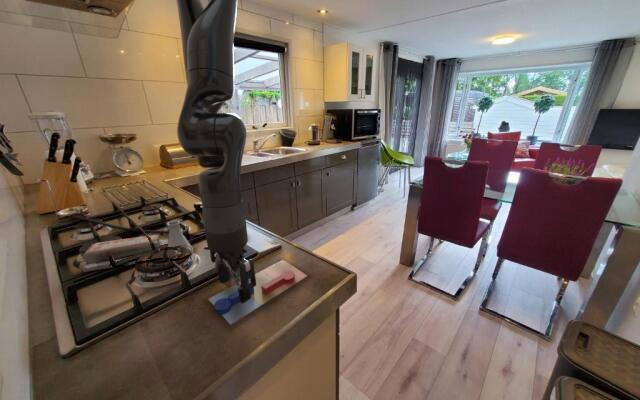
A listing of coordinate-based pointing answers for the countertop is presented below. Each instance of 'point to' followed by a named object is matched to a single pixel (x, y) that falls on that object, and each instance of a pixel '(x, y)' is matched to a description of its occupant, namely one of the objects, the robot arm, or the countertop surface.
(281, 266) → the sorting mat
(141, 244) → the packaged product
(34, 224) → the countertop surface
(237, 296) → the blue spoon
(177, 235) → the flask
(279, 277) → the red spoon
